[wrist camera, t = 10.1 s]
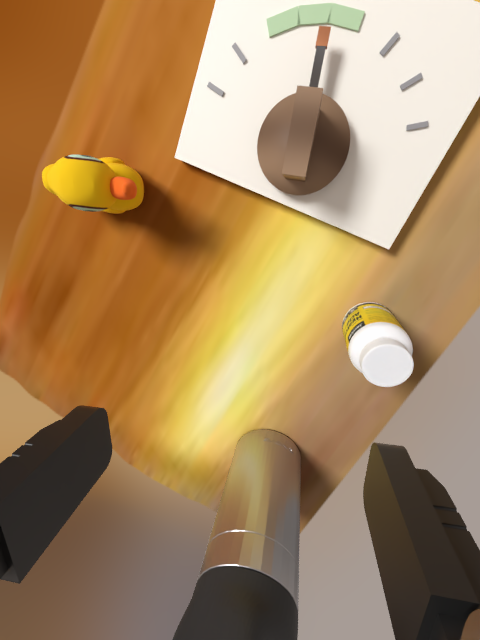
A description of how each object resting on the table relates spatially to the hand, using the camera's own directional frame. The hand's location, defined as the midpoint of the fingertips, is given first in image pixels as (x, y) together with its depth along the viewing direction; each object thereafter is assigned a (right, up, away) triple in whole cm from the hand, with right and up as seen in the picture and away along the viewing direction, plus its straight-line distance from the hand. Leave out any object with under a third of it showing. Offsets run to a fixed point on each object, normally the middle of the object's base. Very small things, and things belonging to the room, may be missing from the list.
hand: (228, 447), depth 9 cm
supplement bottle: (+14, +3, +25) cm, 29 cm away
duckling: (-13, +19, +25) cm, 34 cm away
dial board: (+8, +24, +19) cm, 31 cm away
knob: (+6, +21, +18) cm, 29 cm away
